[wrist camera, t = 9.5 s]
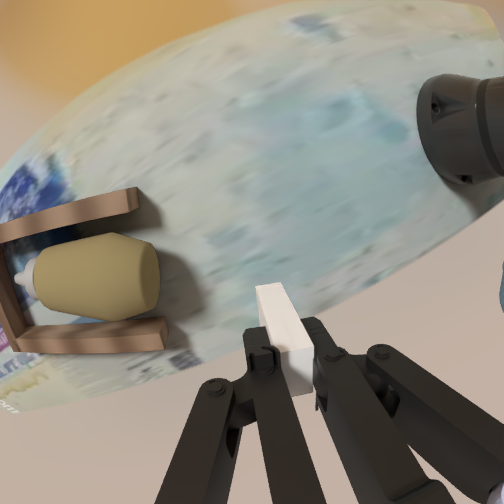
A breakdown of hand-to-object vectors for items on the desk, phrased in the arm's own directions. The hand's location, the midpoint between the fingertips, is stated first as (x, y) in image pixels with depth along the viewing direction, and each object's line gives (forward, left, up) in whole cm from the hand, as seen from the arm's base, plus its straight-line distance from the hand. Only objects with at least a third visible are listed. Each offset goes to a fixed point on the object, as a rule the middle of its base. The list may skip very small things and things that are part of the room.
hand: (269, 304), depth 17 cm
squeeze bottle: (+7, -5, -7) cm, 11 cm away
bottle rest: (+18, -10, -12) cm, 24 cm away
